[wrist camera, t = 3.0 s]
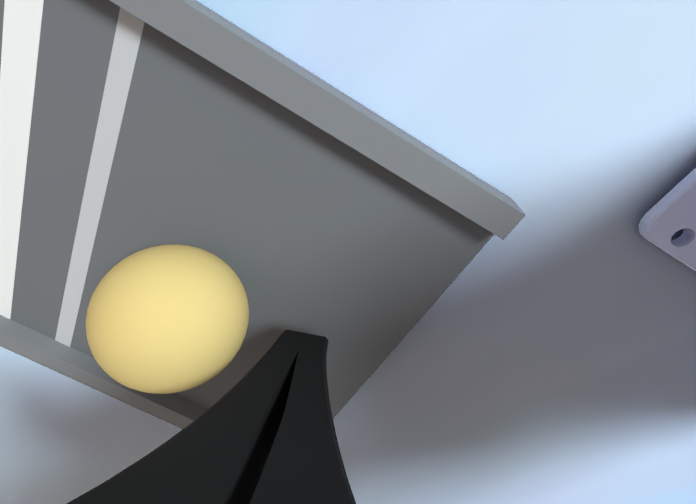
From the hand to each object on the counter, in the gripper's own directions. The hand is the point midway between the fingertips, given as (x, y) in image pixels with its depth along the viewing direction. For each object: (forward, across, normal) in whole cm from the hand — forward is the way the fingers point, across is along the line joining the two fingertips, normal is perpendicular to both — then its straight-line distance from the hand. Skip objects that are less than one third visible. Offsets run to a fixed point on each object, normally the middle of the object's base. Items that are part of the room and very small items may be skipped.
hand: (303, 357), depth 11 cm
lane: (+2, +6, -2) cm, 7 cm away
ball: (+1, +4, -1) cm, 4 cm away
